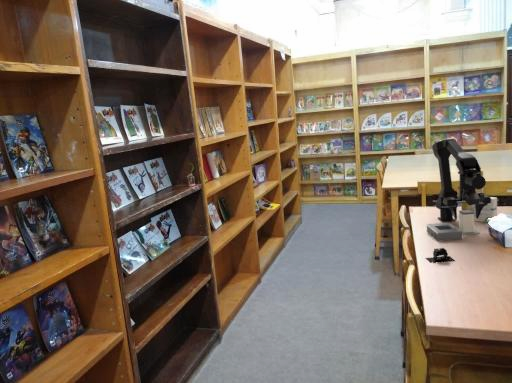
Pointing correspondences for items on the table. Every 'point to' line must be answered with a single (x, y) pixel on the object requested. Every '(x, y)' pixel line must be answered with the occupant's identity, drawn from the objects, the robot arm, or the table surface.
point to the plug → (466, 220)
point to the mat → (470, 232)
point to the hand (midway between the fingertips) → (466, 219)
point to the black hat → (441, 258)
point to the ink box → (488, 210)
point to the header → (444, 231)
